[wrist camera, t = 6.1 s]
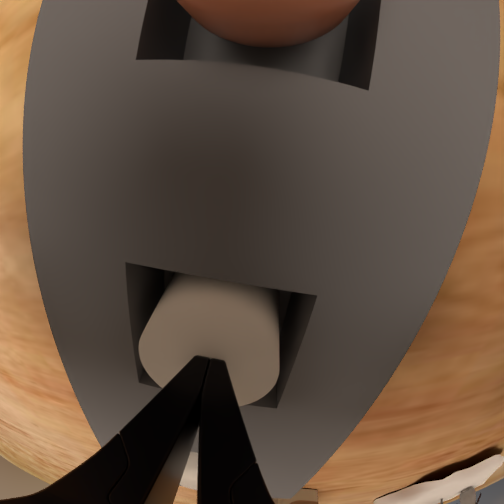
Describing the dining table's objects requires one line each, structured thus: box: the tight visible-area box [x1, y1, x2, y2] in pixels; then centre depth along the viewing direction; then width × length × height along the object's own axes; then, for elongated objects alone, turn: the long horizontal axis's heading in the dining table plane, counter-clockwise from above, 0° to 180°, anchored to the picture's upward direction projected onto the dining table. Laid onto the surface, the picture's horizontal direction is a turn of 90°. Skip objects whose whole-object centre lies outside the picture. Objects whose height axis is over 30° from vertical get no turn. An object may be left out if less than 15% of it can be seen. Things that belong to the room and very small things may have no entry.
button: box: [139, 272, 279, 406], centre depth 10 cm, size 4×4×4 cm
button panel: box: [23, 0, 500, 499], centre depth 10 cm, size 28×12×4 cm, turn 171°
